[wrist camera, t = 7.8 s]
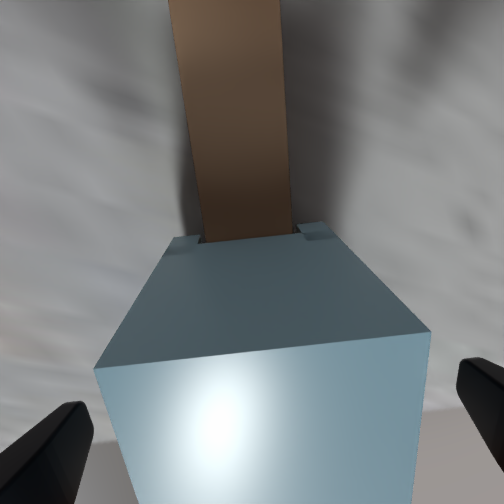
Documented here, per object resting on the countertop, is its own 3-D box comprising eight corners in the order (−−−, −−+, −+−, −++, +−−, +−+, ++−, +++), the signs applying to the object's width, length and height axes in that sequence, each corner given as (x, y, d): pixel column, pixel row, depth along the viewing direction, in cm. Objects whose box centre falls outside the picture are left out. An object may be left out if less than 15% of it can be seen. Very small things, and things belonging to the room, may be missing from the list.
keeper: (325, 333, 14) (408, 523, 7) (195, 347, 14) (155, 551, 7) (322, 221, 12) (431, 332, 5) (174, 237, 12) (93, 369, 5)
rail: (324, 348, 15) (353, 419, 11) (199, 362, 15) (186, 437, 11) (316, -11, 10) (362, -95, 6) (130, 8, 10) (69, -65, 6)
